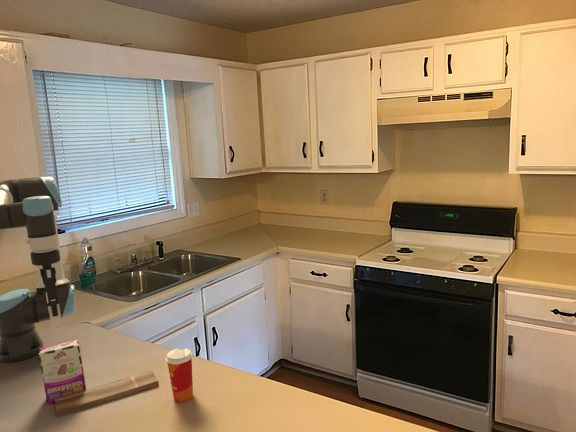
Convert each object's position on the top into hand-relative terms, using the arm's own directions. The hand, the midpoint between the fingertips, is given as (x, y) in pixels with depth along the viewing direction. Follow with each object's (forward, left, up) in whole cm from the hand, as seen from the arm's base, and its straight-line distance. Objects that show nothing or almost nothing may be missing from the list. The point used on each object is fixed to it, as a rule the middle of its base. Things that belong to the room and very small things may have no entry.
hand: (55, 318), depth 140 cm
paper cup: (+22, +30, -25) cm, 45 cm away
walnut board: (+7, +11, -25) cm, 28 cm away
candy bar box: (0, 0, -25) cm, 25 cm away
